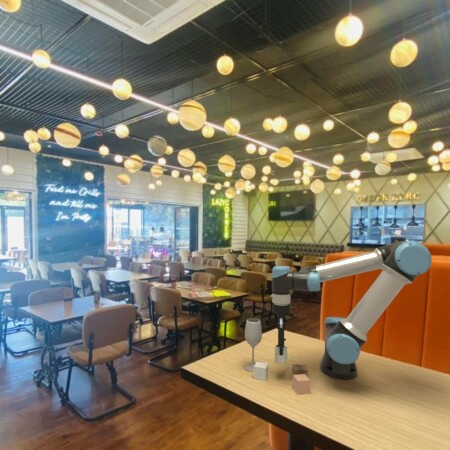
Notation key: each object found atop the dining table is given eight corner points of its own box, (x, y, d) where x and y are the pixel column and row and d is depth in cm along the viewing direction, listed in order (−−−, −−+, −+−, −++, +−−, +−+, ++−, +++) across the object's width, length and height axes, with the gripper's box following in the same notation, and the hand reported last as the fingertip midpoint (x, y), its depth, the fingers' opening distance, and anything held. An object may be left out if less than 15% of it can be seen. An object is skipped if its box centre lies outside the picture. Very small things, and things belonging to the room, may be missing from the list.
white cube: (267, 375, 128) (267, 363, 128) (265, 380, 123) (265, 368, 123) (256, 373, 130) (256, 361, 130) (253, 378, 125) (253, 366, 125)
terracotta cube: (304, 386, 119) (304, 374, 119) (310, 393, 114) (310, 380, 114) (292, 387, 118) (292, 374, 118) (297, 394, 113) (297, 381, 113)
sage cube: (286, 358, 129) (287, 346, 129) (287, 363, 124) (287, 351, 124) (275, 357, 129) (275, 345, 130) (274, 362, 125) (274, 350, 125)
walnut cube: (304, 376, 127) (304, 364, 128) (307, 382, 122) (307, 370, 123) (292, 376, 128) (292, 364, 128) (295, 382, 123) (295, 369, 123)
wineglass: (260, 372, 130) (261, 323, 130) (243, 370, 132) (243, 322, 132) (262, 364, 138) (262, 318, 138) (245, 363, 139) (246, 317, 139)
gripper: (272, 298, 137) (272, 350, 136) (271, 308, 119) (271, 368, 118) (289, 299, 135) (289, 351, 135) (290, 309, 117) (291, 370, 117)
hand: (281, 359), depth 127 cm, fingers closed on sage cube, 5 cm apart
